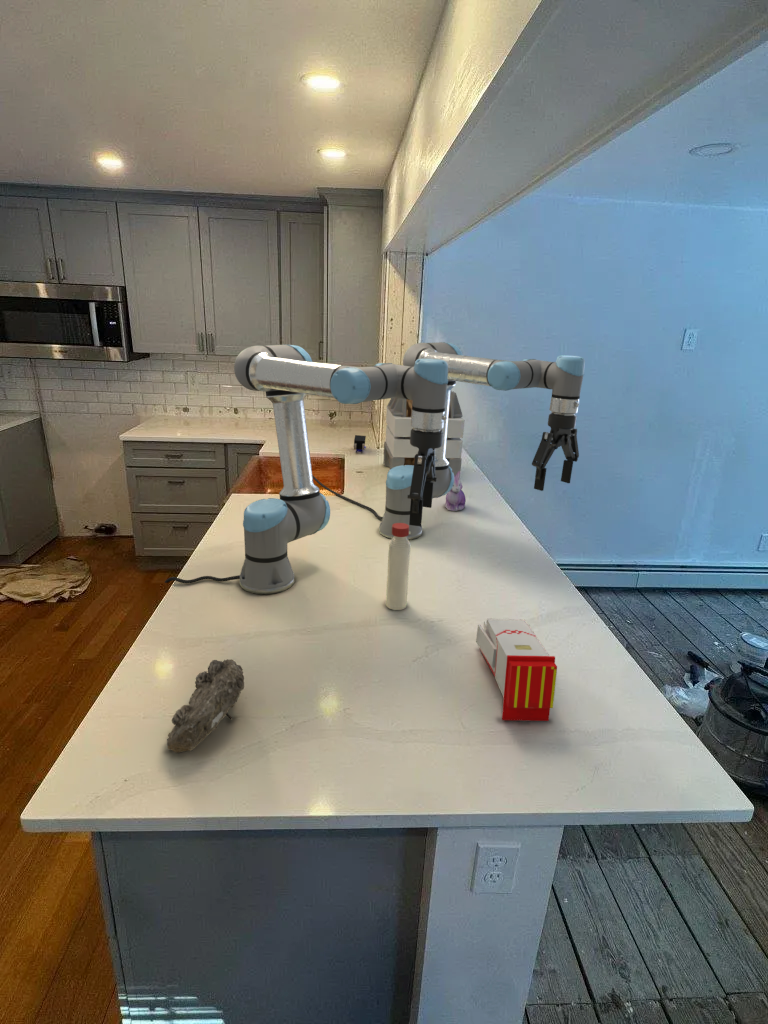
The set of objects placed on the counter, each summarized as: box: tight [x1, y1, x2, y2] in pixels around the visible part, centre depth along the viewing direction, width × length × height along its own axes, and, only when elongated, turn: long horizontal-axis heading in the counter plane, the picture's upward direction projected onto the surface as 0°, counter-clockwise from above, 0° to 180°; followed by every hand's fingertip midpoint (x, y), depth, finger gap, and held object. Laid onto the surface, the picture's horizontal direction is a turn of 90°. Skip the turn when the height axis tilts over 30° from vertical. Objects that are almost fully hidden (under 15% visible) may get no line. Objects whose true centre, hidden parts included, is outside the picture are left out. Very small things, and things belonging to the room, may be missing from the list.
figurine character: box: [353, 434, 367, 454], centre depth 311 cm, size 7×8×15 cm
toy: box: [475, 618, 558, 722], centre depth 122 cm, size 12×13×30 cm
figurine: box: [444, 470, 467, 512], centre depth 226 cm, size 9×10×15 cm
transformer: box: [383, 390, 465, 476], centre depth 268 cm, size 34×33×41 cm
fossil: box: [166, 658, 245, 754], centre depth 106 cm, size 22×10×15 cm
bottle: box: [385, 536, 411, 611], centre depth 148 cm, size 6×6×22 cm
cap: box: [392, 523, 409, 537], centre depth 145 cm, size 4×4×2 cm
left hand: (420, 515), depth 137 cm, fingers open, 13 cm apart
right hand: (552, 485), depth 166 cm, fingers open, 13 cm apart
